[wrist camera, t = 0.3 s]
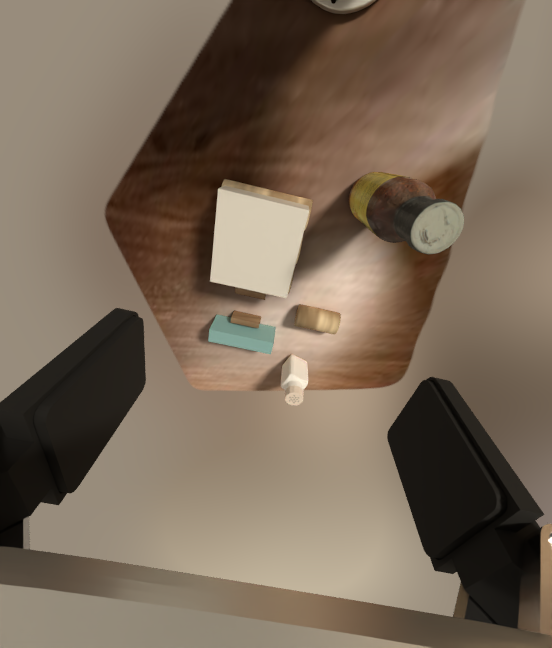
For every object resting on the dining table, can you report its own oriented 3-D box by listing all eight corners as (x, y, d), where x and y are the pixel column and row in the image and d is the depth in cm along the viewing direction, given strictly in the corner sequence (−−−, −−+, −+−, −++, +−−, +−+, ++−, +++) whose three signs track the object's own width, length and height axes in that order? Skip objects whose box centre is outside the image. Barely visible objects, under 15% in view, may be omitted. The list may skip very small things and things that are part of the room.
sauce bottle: (344, 220, 40) (379, 269, 23) (350, 171, 37) (395, 186, 20) (390, 219, 39) (460, 269, 23) (400, 170, 36) (490, 185, 19)
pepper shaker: (280, 365, 55) (278, 401, 47) (291, 352, 53) (290, 387, 45) (297, 373, 56) (297, 410, 48) (308, 360, 54) (310, 397, 46)
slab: (224, 185, 35) (218, 188, 32) (308, 205, 35) (309, 210, 32) (216, 272, 41) (210, 281, 38) (287, 287, 42) (286, 298, 39)
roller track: (228, 177, 38) (221, 180, 34) (311, 198, 39) (313, 202, 35) (214, 311, 50) (208, 322, 46) (278, 325, 50) (277, 337, 47)
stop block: (216, 314, 50) (209, 329, 46) (275, 327, 50) (273, 343, 46) (215, 325, 51) (208, 341, 47) (272, 337, 52) (270, 354, 48)
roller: (294, 318, 49) (294, 330, 46) (300, 300, 47) (300, 311, 44) (331, 326, 50) (334, 338, 47) (338, 308, 48) (341, 320, 45)
